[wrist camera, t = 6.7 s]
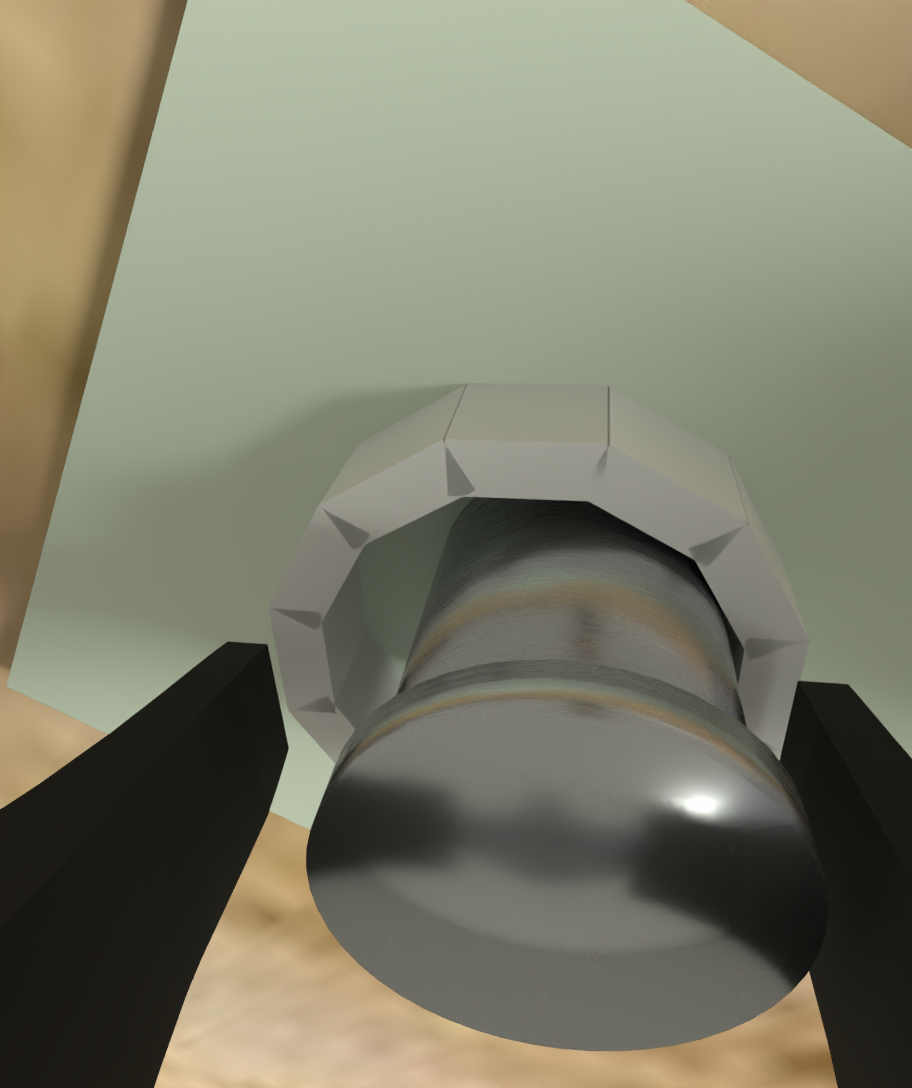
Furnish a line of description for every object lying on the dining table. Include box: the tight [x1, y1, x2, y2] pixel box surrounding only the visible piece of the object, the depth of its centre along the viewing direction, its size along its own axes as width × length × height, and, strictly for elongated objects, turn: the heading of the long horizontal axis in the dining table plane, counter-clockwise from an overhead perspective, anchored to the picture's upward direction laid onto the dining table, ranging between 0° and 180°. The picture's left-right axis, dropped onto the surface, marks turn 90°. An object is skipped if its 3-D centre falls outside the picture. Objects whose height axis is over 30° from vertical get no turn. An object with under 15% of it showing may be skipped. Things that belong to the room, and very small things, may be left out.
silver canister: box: [306, 497, 829, 1051], centre depth 11 cm, size 5×5×6 cm
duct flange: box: [6, 0, 912, 830], centre depth 13 cm, size 16×16×3 cm
